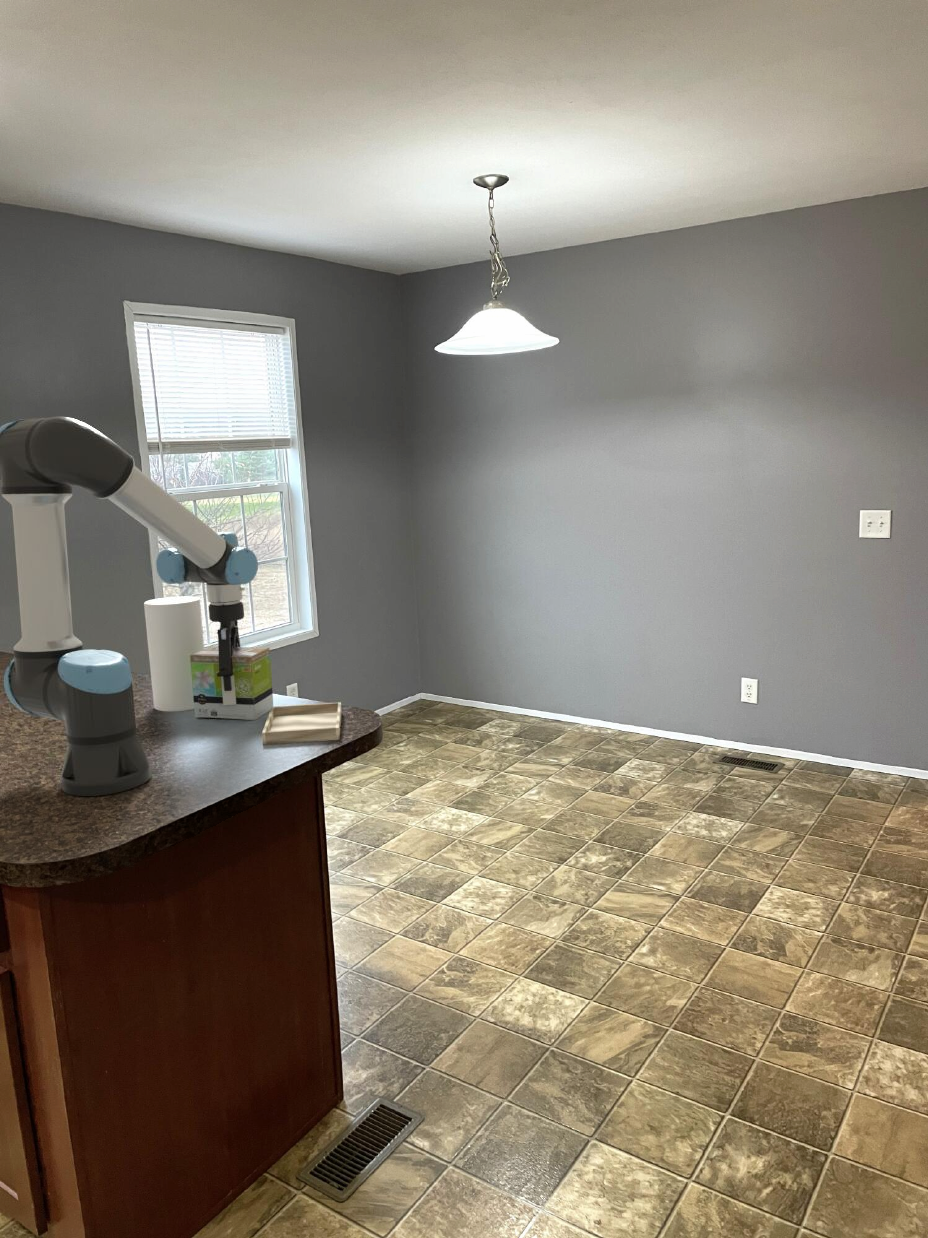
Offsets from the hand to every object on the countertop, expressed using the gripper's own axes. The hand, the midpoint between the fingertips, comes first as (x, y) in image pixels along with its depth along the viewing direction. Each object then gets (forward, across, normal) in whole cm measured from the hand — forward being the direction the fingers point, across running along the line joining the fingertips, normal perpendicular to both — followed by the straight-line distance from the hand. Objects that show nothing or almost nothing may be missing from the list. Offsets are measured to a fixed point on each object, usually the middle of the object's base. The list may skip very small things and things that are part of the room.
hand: (233, 697), depth 210 cm
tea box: (+4, 0, 0) cm, 4 cm away
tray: (+4, -16, -16) cm, 23 cm away
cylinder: (+4, +12, +14) cm, 19 cm away
